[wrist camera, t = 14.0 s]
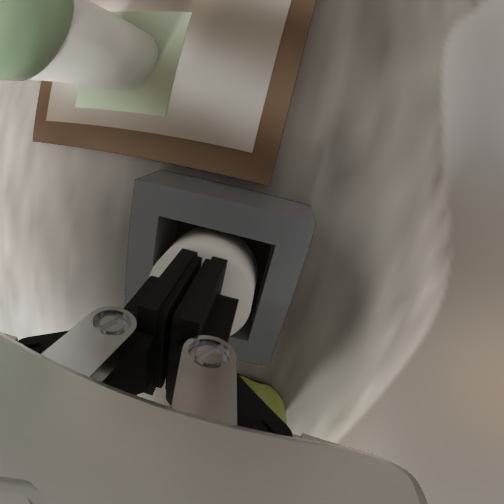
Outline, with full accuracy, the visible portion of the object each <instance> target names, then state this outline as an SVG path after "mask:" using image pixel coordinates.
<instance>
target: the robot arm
mask: <svg viewBox="0 0 504 504" xmlns="http://www.w3.org/2000/svg"><path fill="white" fill-rule="evenodd" d="M197 255H198V253H197V252H195V251H192V250H188V249H184V248H182V249H181V250H180V252H179V253H178V254H177V255H176V257H175V258H174V259H173V260H172V262H171V263H170V264H169V265H168V267H167V268H166V269H165V270H164V272H163V273H162V274H161V275H160V277H156V276H150V277H149V278H148V279H147V281H146V282H145V283H144V284H143V285H142V287H141V288H140V289H139V290H138V291H137V293H136V294H135V295H134V296H133V297H132V299H131V300H130V301H129V302H128V304H127V305H126V306H125V307H124V309H122V308H119V307H103V308H100V309H97V310H95V311H94V312H92V313H91V314H89V315H88V316H87V317H86V318H84V319H83V320H82V321H81V322H79V323H78V324H77V325H76V326H74V327H73V328H72V329H71V330H70V331H64V332H58V333H52V334H45V335H39V336H32V337H27V338H23V339H21V340H19V341H18V338H17V337H14V336H11V335H8V334H5V333H2V332H0V504H428V503H427V500H426V497H425V495H424V492H423V490H422V488H421V486H420V484H419V483H418V481H417V480H416V478H415V477H414V476H413V475H412V474H411V473H410V472H409V471H408V470H406V469H405V468H403V467H401V466H400V465H398V464H396V463H394V462H392V461H390V460H388V459H385V458H383V457H380V456H377V455H375V454H372V453H369V452H365V451H362V450H358V449H355V448H351V447H346V446H342V445H338V444H335V443H332V442H329V441H325V440H322V439H319V438H316V437H313V436H310V435H307V434H304V433H303V434H302V435H301V436H298V435H295V434H292V432H291V430H290V429H289V427H288V426H287V425H286V424H285V423H284V422H283V421H282V420H281V419H280V418H279V417H278V416H277V415H276V414H275V413H274V412H273V411H272V410H271V409H270V408H269V407H268V405H267V404H266V403H265V402H264V401H263V400H262V399H261V398H260V397H259V396H258V395H257V394H256V393H255V392H254V391H253V390H252V389H251V388H250V387H249V386H248V385H247V384H246V383H245V381H244V380H243V379H242V378H241V377H240V376H239V375H238V374H237V361H236V353H235V350H234V349H233V347H232V346H231V345H230V344H228V341H229V337H230V333H231V329H232V325H233V322H234V318H235V314H236V310H237V306H238V302H239V299H235V298H232V297H228V296H224V295H220V294H221V290H222V285H223V281H224V276H225V271H226V267H227V262H228V260H226V259H222V258H218V257H214V256H213V257H212V258H211V260H210V259H205V261H204V263H203V264H202V266H201V262H202V257H199V256H197ZM165 380H166V399H167V401H168V402H169V404H170V405H171V407H168V406H165V405H162V404H159V403H156V402H153V401H150V400H147V399H144V398H141V397H138V396H137V394H140V393H143V392H144V393H147V394H150V395H153V393H154V390H155V388H156V387H159V388H162V386H163V384H164V382H165Z"/></svg>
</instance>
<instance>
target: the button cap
mask: <svg viewBox="0 0 504 504" xmlns="http://www.w3.org/2000/svg"><path fill="white" fill-rule="evenodd" d="M182 248H184V249H188V250H192V251H195V252H197V253H198V255H197V256H199V257H202V262H201V266H202V264H203V263H204V261H205V259H210V260H211V258H212V257H213V256H214V257H218V258H222V259H226V260H228V262H227V267H226V271H225V276H224V281H223V285H222V290H221V294H220V295H224V296H228V297H232V298H235V299H239V302H238V306H237V310H236V314H235V318H234V322H233V325H232V329H231V333H230V336H231V335H233V334H234V333H236V332H237V331H238V330H239V329H240V328H241V327H242V326H243V325H244V324H245V323H246V321H247V319H248V317H249V314H250V312H251V307H252V301H253V296H254V291H255V286H256V281H257V272H258V271H257V264H256V260H255V257H254V255H253V253H252V251H251V249H250V248H249V247H248V245H247V244H246V243H245V242H244V241H243V240H242V239H241V238H239V237H238V236H237V235H233V234H229V233H225V232H221V231H217V230H213V229H209V228H205V227H199V228H195V229H192V230H190V231H188V232H186V233H185V234H183V235H182V236H181V237H180V238H179V239H178V240H177V241H176V242H175V243H174V244H173V245H172V246H171V247H170V248H169V249H168V250H167V251H166V252H165V254H164V255H163V256H162V257H161V258H160V259H159V260H158V261H157V262H156V264H155V265H154V267H153V268H152V270H151V273H150V276H156V277H160V275H161V274H162V273H163V272H164V270H165V269H166V268H167V267H168V265H169V264H170V263H171V262H172V260H173V259H174V258H175V257H176V255H177V254H178V253H179V252H180V250H181V249H182ZM150 276H149V277H150Z"/></svg>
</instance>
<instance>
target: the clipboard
mask: <svg viewBox="0 0 504 504" xmlns="http://www.w3.org/2000/svg"><path fill="white" fill-rule="evenodd" d="M89 1H91V2H92V3H94V4H96V5H98V6H100V7H102V8H104V9H106V10H108V11H110V12H111V13H113V14H115V15H117V16H119V17H120V18H122V19H124V20H126V21H127V22H129V23H131V24H133V25H134V26H136V27H138V28H139V29H141V30H143V31H144V32H146V33H148V34H149V35H151V36H152V37H153V39H154V40H155V42H156V44H157V47H158V60H157V64H156V66H155V69H154V71H153V72H152V74H151V75H150V76H149V78H148V79H147V80H146V81H145V82H143V83H142V84H141V85H139V86H138V87H136V88H133V89H130V90H125V91H120V90H114V89H108V88H101V87H95V86H87V85H80V84H71V83H62V82H52V81H42V82H41V87H40V92H39V98H38V104H37V110H36V117H35V125H34V133H33V141H34V142H43V143H51V144H58V145H66V146H73V147H80V148H86V149H93V150H99V151H105V152H111V153H117V154H123V155H129V156H134V157H140V158H145V159H150V160H156V161H161V162H166V163H171V164H176V165H181V166H185V167H190V168H195V169H200V170H204V171H209V172H213V173H218V174H222V175H226V176H231V177H235V178H239V179H243V180H247V181H251V182H255V183H259V184H263V185H267V186H269V184H270V180H271V176H272V172H273V168H274V164H275V160H276V156H277V152H278V148H279V145H280V141H281V137H282V133H283V129H284V125H285V121H286V117H287V113H288V109H289V105H290V101H291V97H292V93H293V89H294V85H295V81H296V77H297V74H298V70H299V66H300V62H301V58H302V54H303V50H304V46H305V42H306V38H307V34H308V30H309V26H310V22H311V18H312V14H313V10H314V6H315V2H316V0H89Z"/></svg>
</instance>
